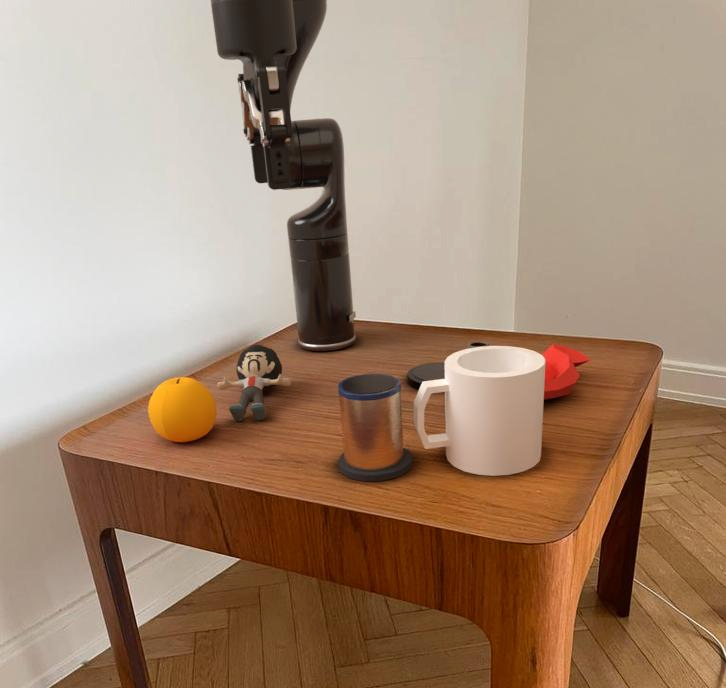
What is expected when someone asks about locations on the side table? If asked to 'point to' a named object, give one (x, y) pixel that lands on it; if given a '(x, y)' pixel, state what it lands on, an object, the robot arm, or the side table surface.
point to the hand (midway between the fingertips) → (272, 185)
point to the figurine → (255, 380)
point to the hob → (425, 374)
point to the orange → (182, 409)
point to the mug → (488, 409)
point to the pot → (371, 421)
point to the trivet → (377, 475)
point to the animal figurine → (561, 370)
